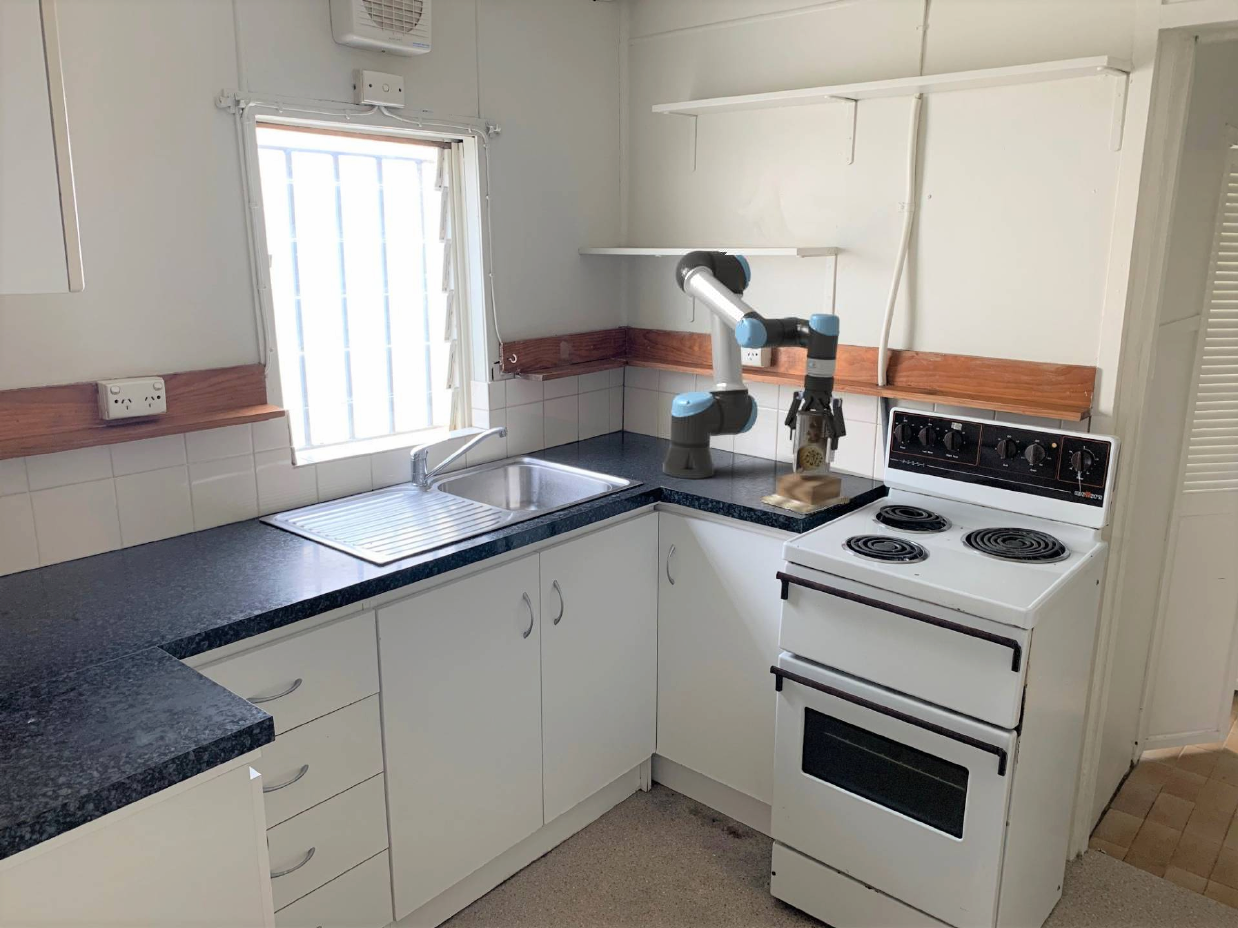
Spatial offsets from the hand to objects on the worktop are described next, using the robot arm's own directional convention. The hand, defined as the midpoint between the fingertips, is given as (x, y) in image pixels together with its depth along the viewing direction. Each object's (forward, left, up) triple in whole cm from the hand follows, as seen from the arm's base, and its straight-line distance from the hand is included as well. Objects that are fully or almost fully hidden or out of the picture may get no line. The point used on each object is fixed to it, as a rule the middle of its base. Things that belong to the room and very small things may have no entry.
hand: (811, 457), depth 243 cm
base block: (0, 0, -11) cm, 11 cm away
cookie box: (0, 0, -4) cm, 4 cm away
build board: (0, -1, -12) cm, 12 cm away
